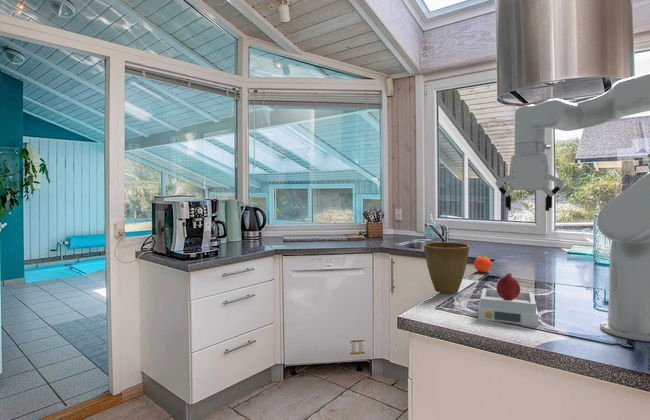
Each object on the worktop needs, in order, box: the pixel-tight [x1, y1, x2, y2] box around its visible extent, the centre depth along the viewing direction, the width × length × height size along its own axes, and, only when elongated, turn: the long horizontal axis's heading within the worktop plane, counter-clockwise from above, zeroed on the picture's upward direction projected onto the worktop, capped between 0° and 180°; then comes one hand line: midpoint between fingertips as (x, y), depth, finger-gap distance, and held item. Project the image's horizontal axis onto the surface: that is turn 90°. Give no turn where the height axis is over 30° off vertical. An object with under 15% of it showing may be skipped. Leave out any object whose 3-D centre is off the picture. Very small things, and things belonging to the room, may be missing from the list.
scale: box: [477, 287, 539, 327], centre depth 107 cm, size 14×14×5 cm
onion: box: [495, 272, 521, 301], centre depth 107 cm, size 6×6×8 cm
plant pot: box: [423, 241, 470, 295], centre depth 134 cm, size 15×15×16 cm
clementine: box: [473, 255, 493, 274], centre depth 168 cm, size 8×7×7 cm
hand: (527, 210), depth 113 cm, fingers open, 9 cm apart
